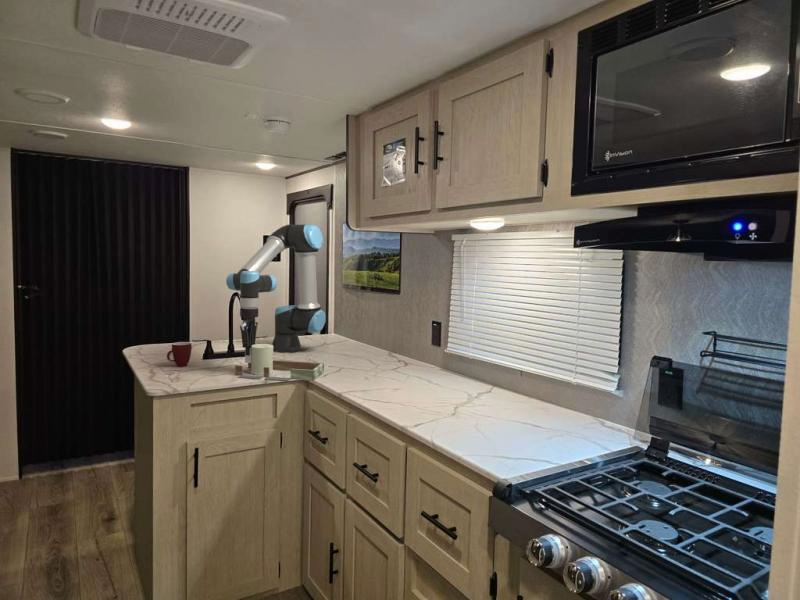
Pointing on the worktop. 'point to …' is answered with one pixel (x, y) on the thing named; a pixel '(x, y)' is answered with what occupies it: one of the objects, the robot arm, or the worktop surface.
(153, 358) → the worktop surface
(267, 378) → the mats
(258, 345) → the can
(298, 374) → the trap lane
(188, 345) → the mug
